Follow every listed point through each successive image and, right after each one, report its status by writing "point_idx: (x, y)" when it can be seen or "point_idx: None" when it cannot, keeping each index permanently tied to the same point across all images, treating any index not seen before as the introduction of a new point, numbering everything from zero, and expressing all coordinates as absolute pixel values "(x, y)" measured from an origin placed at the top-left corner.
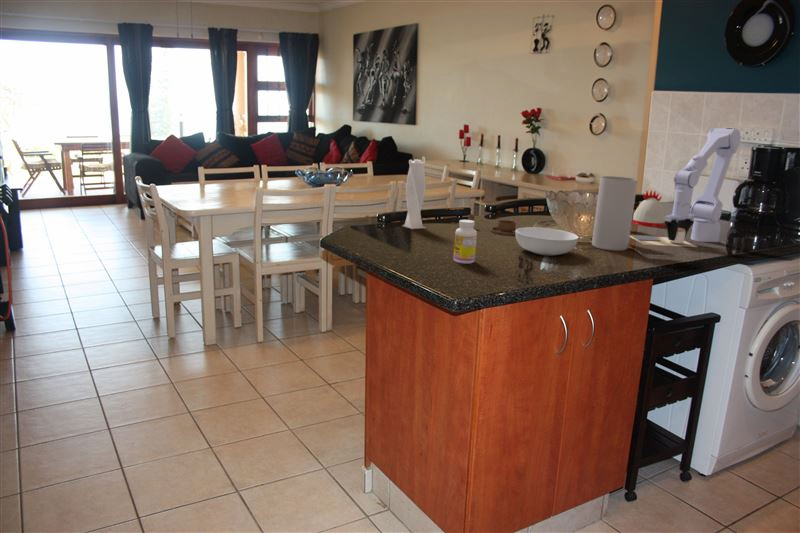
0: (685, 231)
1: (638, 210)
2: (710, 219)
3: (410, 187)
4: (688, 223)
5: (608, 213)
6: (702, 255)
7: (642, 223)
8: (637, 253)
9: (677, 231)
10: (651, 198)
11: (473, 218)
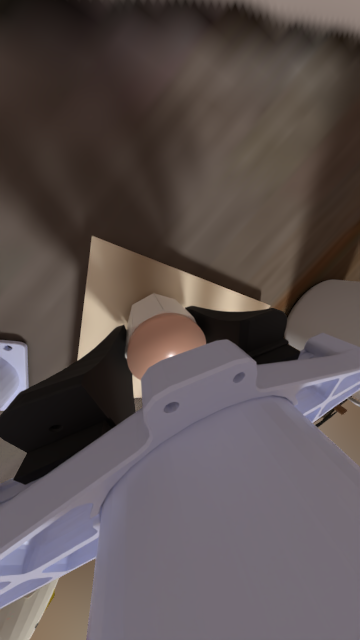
0: (116, 344)
1: (57, 578)
2: None
3: None
4: (101, 378)
5: None
6: (140, 130)
7: None
8: (319, 252)
9: (194, 322)
10: None
11: (340, 407)
